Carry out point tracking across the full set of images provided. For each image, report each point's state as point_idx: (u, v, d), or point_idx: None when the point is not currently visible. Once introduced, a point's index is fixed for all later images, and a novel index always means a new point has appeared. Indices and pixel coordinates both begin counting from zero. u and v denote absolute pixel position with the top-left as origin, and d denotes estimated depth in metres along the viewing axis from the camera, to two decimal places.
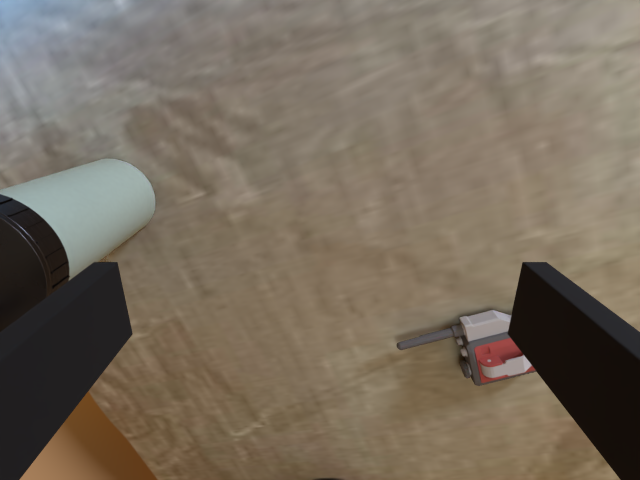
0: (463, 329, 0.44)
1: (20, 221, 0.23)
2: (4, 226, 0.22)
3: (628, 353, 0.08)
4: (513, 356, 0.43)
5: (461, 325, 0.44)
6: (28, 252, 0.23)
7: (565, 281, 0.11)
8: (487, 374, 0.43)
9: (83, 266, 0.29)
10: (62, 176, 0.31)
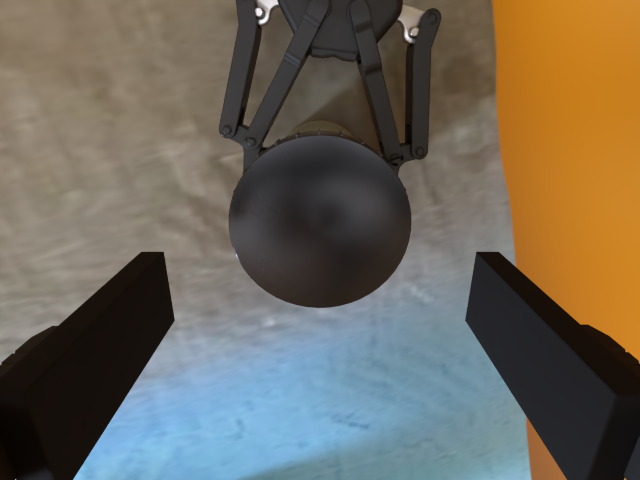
0: None
1: None
2: (258, 276, 0.20)
3: (550, 330, 0.09)
4: None
5: None
6: (241, 246, 0.19)
7: (511, 268, 0.12)
8: None
9: None
10: None
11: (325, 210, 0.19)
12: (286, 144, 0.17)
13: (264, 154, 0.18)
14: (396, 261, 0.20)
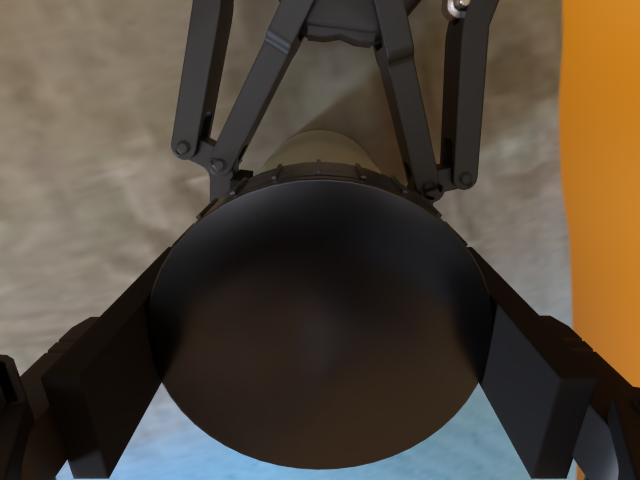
0: None
1: None
2: (209, 423, 0.11)
3: (509, 319, 0.09)
4: None
5: None
6: (174, 375, 0.10)
7: (481, 262, 0.12)
8: None
9: None
10: None
11: (330, 317, 0.10)
12: (252, 197, 0.09)
13: (208, 216, 0.09)
14: (459, 400, 0.11)
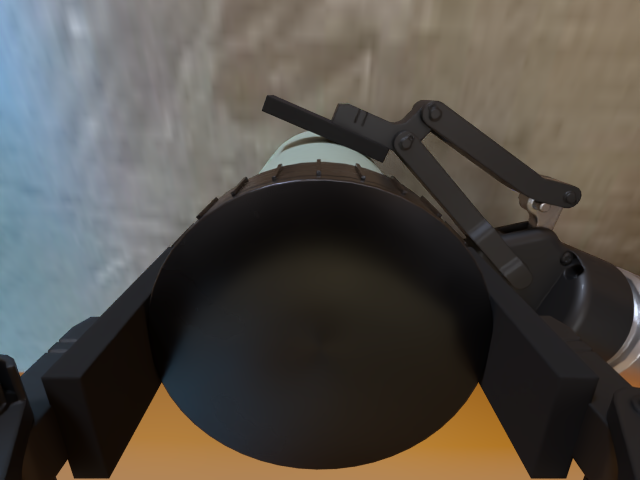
0: None
1: None
2: (208, 423, 0.11)
3: (508, 319, 0.09)
4: None
5: None
6: (174, 375, 0.10)
7: (481, 262, 0.12)
8: None
9: None
10: None
11: (330, 316, 0.10)
12: (252, 197, 0.09)
13: (208, 216, 0.09)
14: (459, 400, 0.11)
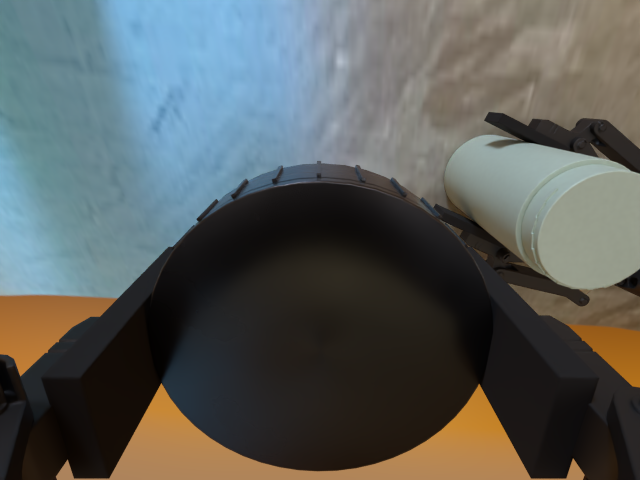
0: None
1: None
2: (209, 425, 0.11)
3: (508, 319, 0.09)
4: None
5: None
6: (174, 377, 0.10)
7: (481, 263, 0.12)
8: None
9: None
10: (488, 168, 0.30)
11: (331, 318, 0.10)
12: (252, 199, 0.09)
13: (209, 218, 0.09)
14: (460, 402, 0.11)
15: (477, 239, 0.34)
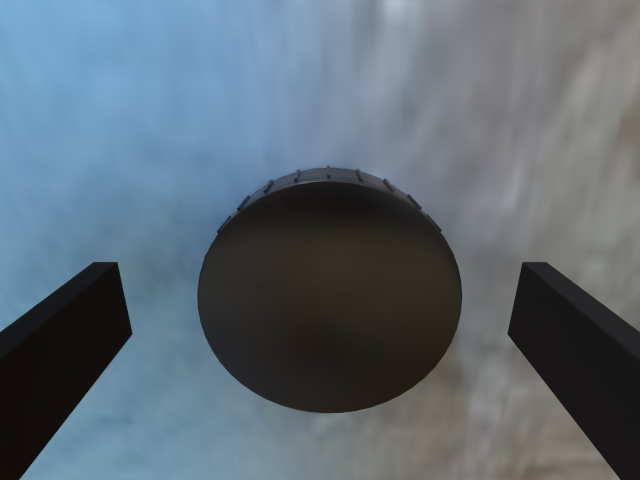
0: None
1: None
2: (241, 373, 0.14)
3: (628, 353, 0.08)
4: None
5: None
6: (216, 332, 0.14)
7: (565, 281, 0.11)
8: None
9: None
10: None
11: (337, 285, 0.13)
12: (280, 193, 0.12)
13: (247, 207, 0.12)
14: (438, 354, 0.14)
15: None
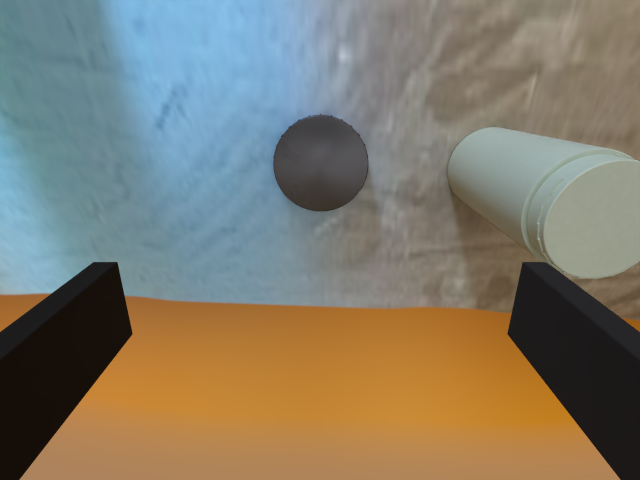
0: None
1: None
2: (288, 192, 0.38)
3: (628, 353, 0.08)
4: None
5: None
6: (279, 175, 0.37)
7: (565, 281, 0.11)
8: None
9: None
10: (492, 160, 0.30)
11: (323, 155, 0.36)
12: (304, 121, 0.35)
13: (293, 126, 0.35)
14: (361, 184, 0.37)
15: None
